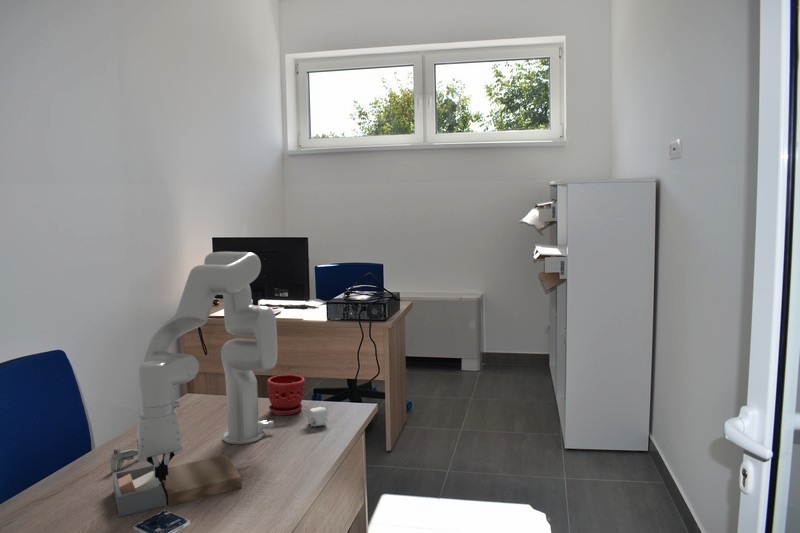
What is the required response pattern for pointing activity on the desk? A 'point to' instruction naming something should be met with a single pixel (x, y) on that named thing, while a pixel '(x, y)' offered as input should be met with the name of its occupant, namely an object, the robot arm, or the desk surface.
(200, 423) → the desk surface
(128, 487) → the tile terracotta
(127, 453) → the caliper
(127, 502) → the box
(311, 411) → the elephant figurine
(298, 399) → the plant pot
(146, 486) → the tile cream
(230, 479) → the plate
